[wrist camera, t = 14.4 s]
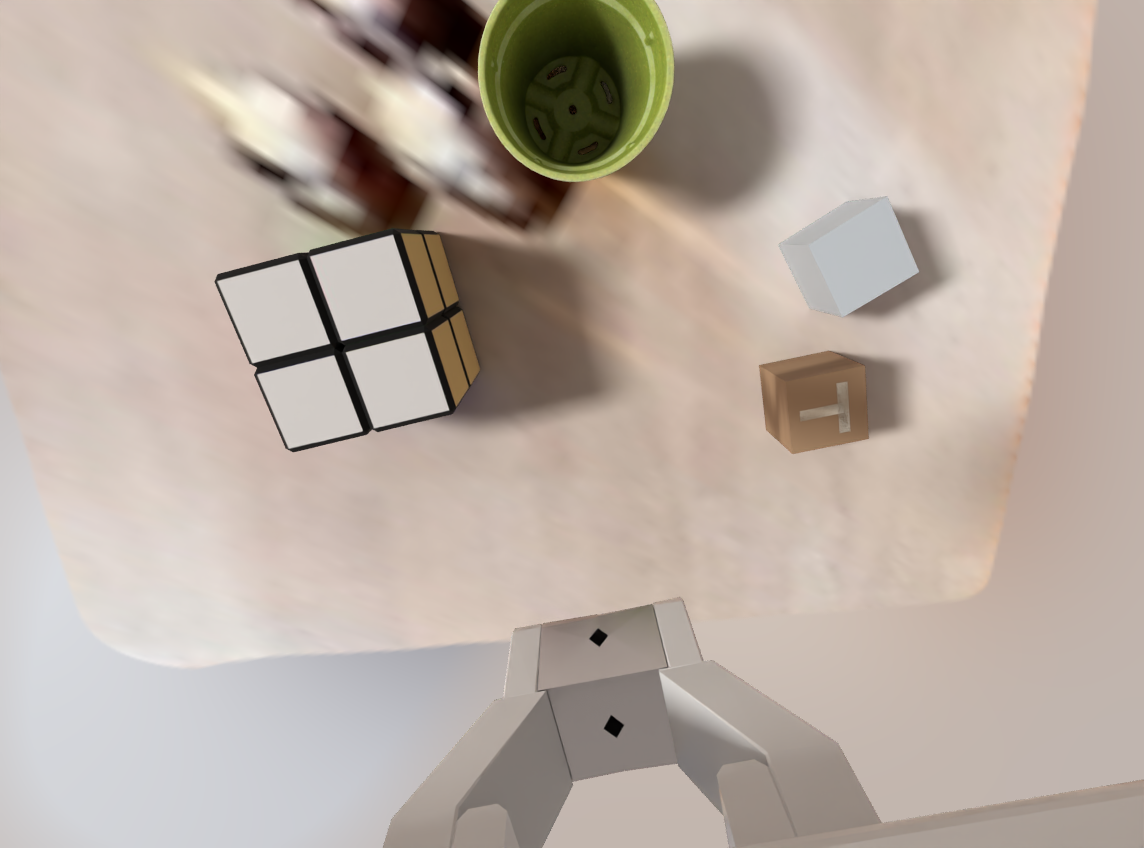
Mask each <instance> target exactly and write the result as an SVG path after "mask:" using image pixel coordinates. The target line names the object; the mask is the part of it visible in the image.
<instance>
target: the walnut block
mask: <svg viewBox="0 0 1144 848" xmlns="http://www.w3.org/2000/svg"><path fill="white" fill-rule="evenodd" d="M759 368H760V377H761V386H762V396H763V405H764V414H765V423H766V430H767V431H768V432H769V433H770V434H771V435H772V436H773V437H775V438H776V439H777V440H778V441H779V442H780V443H781V444H782V445H783V446H784V447H785V448H787V449H788V450H789V451H790V452H791V453H792V454H795V453H800V452H805V451H810V450H815V449H820V448H825V447H830V446H835V445H840V444H845V443H850V442H855V441H860V440H865V439H869V436H868V415H867V395H866V374H865V365H863V364H860V363H858V362H855V361H853V360H850V359H848V358H845V357H843V356H840V355H838V354H836V353H833V352H831V351H826V352H821V353H816V354H811V355H806V356H802V357H797V358H792V359H787V360H782V361H778V362H773V363H768V364H763V365H759Z"/></svg>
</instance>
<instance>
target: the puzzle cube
mask: <svg viewBox="0 0 1144 848" xmlns="http://www.w3.org/2000/svg"><path fill="white" fill-rule="evenodd" d="M215 284H216V287H217V289H218V291H219V294H220V296H221V298H222V300H223V303H224V305H225V307H226V310H227V312H228V314H229V317H230V319H231V321H232V324H233V326H234V328H235V331H236V333H237V335H238V338H239V340H240V342H241V345H242V347H243V349H244V352H245V354H246V356H247V359H248V361H249V363H250V364H252V365H253V366H255V367H257V370H256V372H255V374H254V376H255V378H256V380H257V383H258V385H259V387H260V390H261V392H262V394H263V397H264V399H265V401H266V404H267V406H268V408H269V411H270V413H271V415H272V417H273V420H274V422H275V424H276V427H277V429H278V431H279V434H280V436H281V438H282V441H283V443H284V445H285V448H286V449H288V450H290V451H292V452H297V451H301V450H305V449H309V448H313V447H318V446H322V445H326V444H330V443H334V442H338V441H342V440H347V439H351V438H355V437H359V436H363V435H367V434H368V433H369V432H370V431H371V430H372V429H373V430H375V431H377V432H380V431H384V430H388V429H392V428H397V427H401V426H405V425H409V424H413V423H417V422H421V421H426V420H430V419H434V418H438V417H442V416H446V415H451V414H453V412H454V411H455V409H456V408H457V406H458V405H459V403H460V402H461V400H462V398H463V397H464V395H465V394H466V392H467V391H468V390H469V388H470V386H471V385H472V383H473V382H474V380H475V378H476V377H477V375H478V373H479V372H480V367H479V364H478V361H477V357H476V354H475V351H474V348H473V344H472V341H471V338H470V334H469V331H468V328H467V324H466V321H465V318H464V315H463V311H462V309H460V308H458V307H455V306H456V305H457V303H458V301H459V298H458V295H457V291H456V288H455V285H454V282H453V278H452V275H451V272H450V268H449V265H448V262H447V258H446V255H445V252H444V249H443V245H442V242H441V239H440V235H439V234H437V233H435V232H434V231H423V230H406V229H395V228H392V229H388V230H384V231H380V232H377V233H373V234H369V235H365V236H361V237H358V238H354V239H350V240H346V241H342V242H338V243H335V244H331V245H327V246H323V247H319V248H316V249H312V250H310V251H309V253H297V254H293V255H289V256H285V257H281V258H278V259H274V260H270V261H266V262H262V263H259V264H255V265H251V266H247V267H243V268H240V269H236V270H232V271H228V272H224V273H220V274H218V275H217V277H216V280H215Z"/></svg>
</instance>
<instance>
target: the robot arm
mask: <svg viewBox="0 0 1144 848" xmlns="http://www.w3.org/2000/svg"><path fill="white" fill-rule="evenodd" d="M677 763H678V766H679V767H680V768H681V769H682V771H683V772H684V773H685V774H686V775H687V776H688V777H689V778H690V779H691V781H692V782H693V783H694V784H695V785H696V786H697V787H698V788H699V789H700V790H701V792H702V793H703V794H704V795H705V796H706V797H707V798H708V799H709V800H710V802H711V803H712V804H713V805H714V806H715V807H716V808H717V809H718V810H719V811H720V812H721V814H722V815H723V816H724V821H725V826H726V832H727V838H728V844H729V848H1144V780H1138V781H1132V782H1126V783H1120V784H1113V785H1107V786H1101V787H1096V788H1089V789H1083V790H1077V791H1071V792H1065V793H1059V794H1053V795H1047V796H1041V797H1035V798H1029V799H1023V800H1017V801H1011V802H1005V803H999V804H993V805H987V806H981V807H975V808H969V809H963V810H957V811H951V812H945V813H939V814H933V815H927V816H922V817H915V818H909V819H903V820H897V821H891V822H885V823H882V822H881V821H880V819H879V817H878V815H877V813H876V812H875V810H874V808H873V806H872V804H871V802H870V801H869V799H868V797H867V795H866V793H865V791H864V790H863V788H862V786H861V784H860V783H859V781H858V779H857V777H856V775H855V773H854V771H853V770H852V768H851V766H850V764H849V762H848V760H847V759H846V757H845V755H844V753H843V751H842V749H841V748H840V746H839V744H838V743H837V742H836V741H834V740H833V739H831V738H830V737H828V736H827V735H825V734H823V733H822V732H821V731H819V730H818V729H816V728H815V727H813V726H812V725H810V724H809V723H807V722H805V721H804V720H803V719H801V718H800V717H798V716H796V715H795V714H793V713H792V712H790V711H789V710H787V709H786V708H784V707H783V706H781V705H780V704H778V703H777V702H775V701H774V700H772V699H771V698H769V697H768V696H766V695H765V694H763V693H762V692H760V691H759V690H757V689H755V688H754V687H753V686H751V685H749V684H748V683H746V682H745V681H744V680H742V679H740V678H739V677H737V676H736V675H734V674H733V673H731V672H730V671H728V670H727V669H725V668H724V667H722V666H721V665H719V664H718V663H716V662H715V661H713V660H710V661H703V658H702V655H701V652H700V649H699V646H698V643H697V640H696V637H695V634H694V631H693V628H692V625H691V622H690V619H689V616H688V613H687V610H686V607H685V604H684V601H683V599H682V598H681V597H678V598H673V599H669V600H664V601H660V602H655V603H653V605H652V604H650V605H645V606H640V607H635V608H630V609H625V610H620V611H615V612H610V613H604V614H599V615H598V614H596V615H590V616H584V617H578V618H572V619H566V620H560V621H554V622H548V623H543V625H542V624H537V625H532V626H526V627H521V628H515V630H514V631H513V633H512V636H511V643H510V650H509V658H508V665H507V672H506V680H505V688H504V694H503V698H502V699H497V700H494V701H493V702H492V703H491V705H490V706H489V707H488V708H487V709H486V710H485V712H484V713H483V714H482V715H481V716H480V717H479V719H478V720H477V721H476V722H475V723H474V724H473V725H472V727H471V728H470V729H469V730H468V731H467V732H466V733H465V735H464V736H463V737H462V738H461V739H460V740H459V742H458V743H457V744H456V745H455V746H454V748H453V749H452V750H451V751H450V752H449V753H448V754H447V755H446V757H445V758H444V759H443V760H442V761H441V762H440V764H439V765H438V766H437V767H436V768H435V769H434V771H433V772H432V773H431V774H430V775H429V776H428V777H427V779H426V780H425V781H424V782H423V783H422V784H421V785H420V787H419V788H418V789H417V790H416V791H415V792H414V794H413V795H412V796H411V797H410V798H409V799H408V801H407V802H406V803H405V804H404V805H403V806H402V807H401V809H400V810H399V811H398V812H397V813H396V815H395V816H394V817H393V818H392V819H391V822H390V825H389V829H388V832H387V836H386V839H385V842H384V845H383V848H542V847H543V845H544V843H545V841H546V839H547V837H548V835H549V833H550V831H551V829H552V827H553V825H554V823H555V821H556V818H557V817H558V815H559V812H560V810H561V808H562V806H563V804H564V802H565V800H566V798H567V796H568V794H569V792H570V790H571V788H572V786H573V783H572V782H573V781H578V780H583V779H588V778H593V777H598V776H603V775H608V774H612V773H617V772H622V771H628V770H635V769H642V768H649V767H656V766H663V765H670V764H677Z"/></svg>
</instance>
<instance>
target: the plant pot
mask: <svg viewBox="0 0 1144 848" xmlns="http://www.w3.org/2000/svg"><path fill="white" fill-rule="evenodd" d="M560 66H566V67H567V71H566V72H562V73H560V74H558V75H556V76H554V77H552V78H550V79H549V80H548V79H547V76H548V74H549V73H550V72H551V71H552V70H554V69H555V68H557V67H560ZM478 79H479V88H480V94H481V98H482V102H483V106H484V109H485V112H486V115H487V117H488V119H489V121H490V124H491V126H492V128H493V130H494V131H495V133H496V135H497V136H498V138H499V139H500V141H501V142H502V143H503V145H504V146H505V147H506V148H507V150H508V151H509V152H510V153H511V154H512V155H513V156H514V157H515V158H516V159H517V160H519V161H520V162H521V163H522V164H524V165H525V166H527V167H528V168H530V169H531V170H533V171H535V172H537V173H539V174H541V175H544V176H546V177H549V178H552V179H556V180H561V181H568V182H581V181H590V180H594V179H598V178H601V177H604V176H607V175H609V174H611V173H613V172H615V171H617V170H619V169H621V168H622V167H624V166H625V165H627V164H628V163H629V162H631V161H632V160H633V159H634V158H635V157H636V156H638V155H639V154H640V153H641V152H642V151H643V149H644V148H645V147H646V146H647V145H648V144H649V142H650V141H651V140H652V138H653V137H654V135H655V134H656V132H657V131H658V129H659V127H660V125H661V123H662V121H663V119H664V117H665V114H666V112H667V109H668V106H669V103H670V99H671V95H672V90H673V84H674V52H673V47H672V41H671V37H670V34H669V31H668V27H667V25H666V22H665V20H664V17H663V15H662V13H661V11H660V9H659V7H658V5H657V4H656V2H655V1H654V0H499V1H498V2H497V4H496V6H495V7H494V9H493V10H492V12H491V15H490V17H489V19H488V21H487V24H486V26H485V29H484V33H483V36H482V40H481V45H480V51H479V61H478ZM601 82H605V83H606V84H607V86H608V88H609V90H610V92H611V94H612V103H611V104H608V101H607V98H606V94H605V92H604V90H603V88H602V86H601V84H600V83H601ZM572 105H574V106H575V107H576V109H577V113H576V114H574V115H572V114H570V111H569V107H570V106H572ZM535 117H536V118H538V120H539V124H540V127H541V129H542V131H543V133H544V135H545V136H546V138H545V140H544V139H541V138H540V135H539V133H538V131H537V130H536V129H535V127H534V122H533V120H534V118H535ZM594 142H598V146H597V147H596V149H595V150H593V151H590V152H588V153H587V154H583V155H580V154H578V150H580V149H583V148H586V147H588V146H590V145H591V144H592V143H594Z"/></svg>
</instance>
